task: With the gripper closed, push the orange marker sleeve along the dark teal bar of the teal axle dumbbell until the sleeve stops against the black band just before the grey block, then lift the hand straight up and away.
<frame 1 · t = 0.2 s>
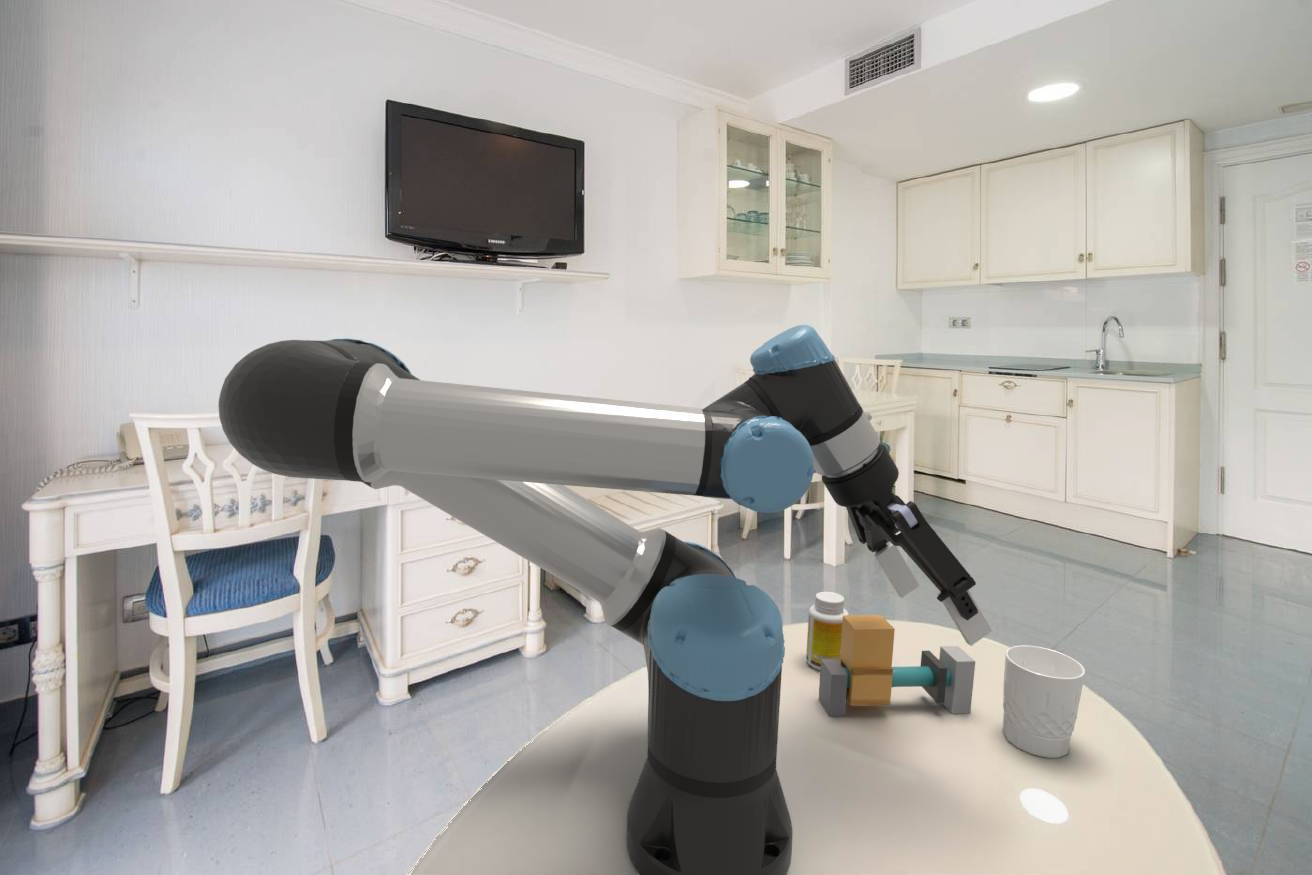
hand: (941, 612, 73), 16 cm above the table, tool tilted 35°, fingers open, 13 cm apart
teal axle dumbbell: (892, 705, 82), on the table
white cup: (1034, 742, 75), on the table
supplement bottle: (825, 665, 92), on the table
marker sleeve: (865, 658, 81), point 6 cm above the table, slide at 0.0 cm
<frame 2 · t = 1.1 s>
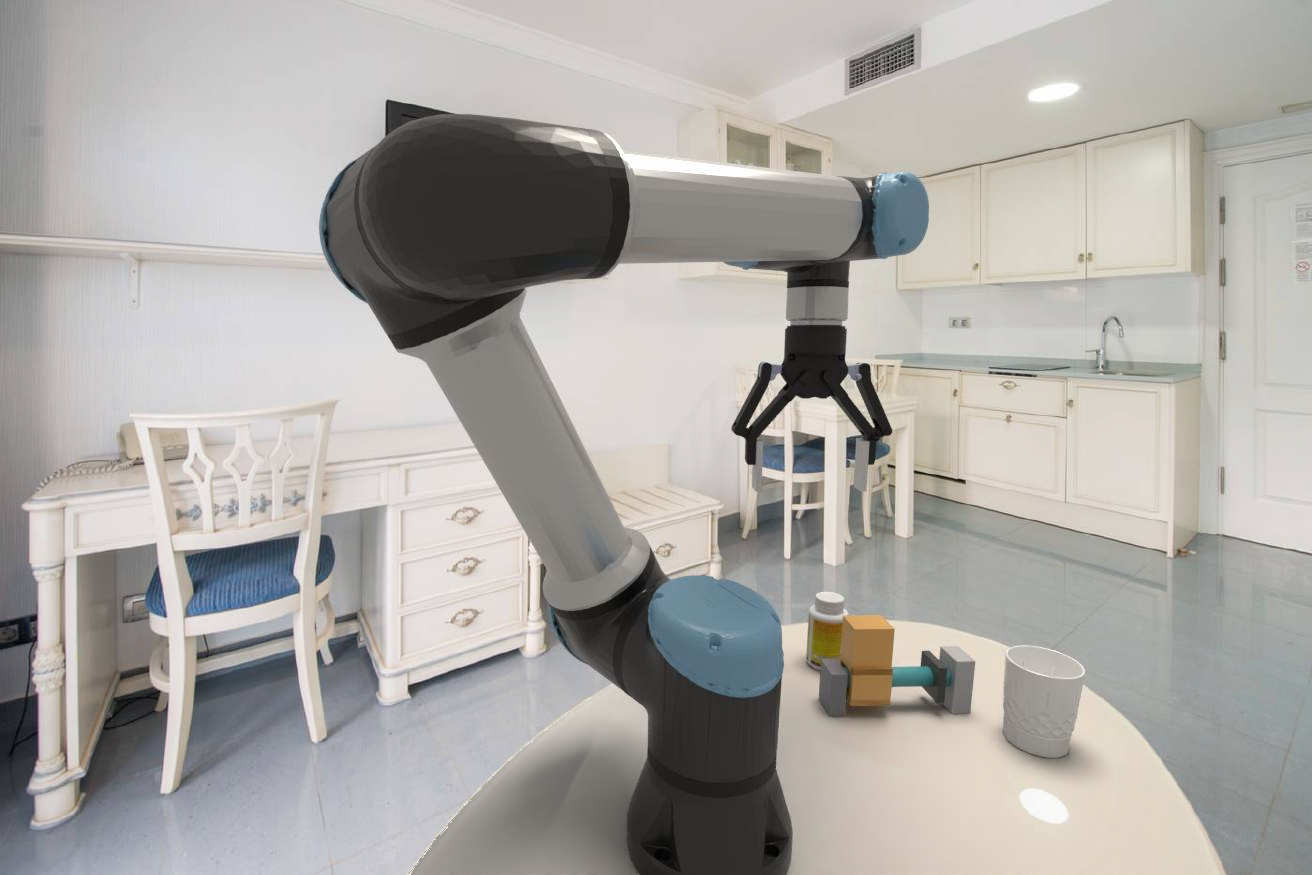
hand: (808, 489, 83), 27 cm above the table, tool pointing down, fingers open, 13 cm apart
nothing on the table moved.
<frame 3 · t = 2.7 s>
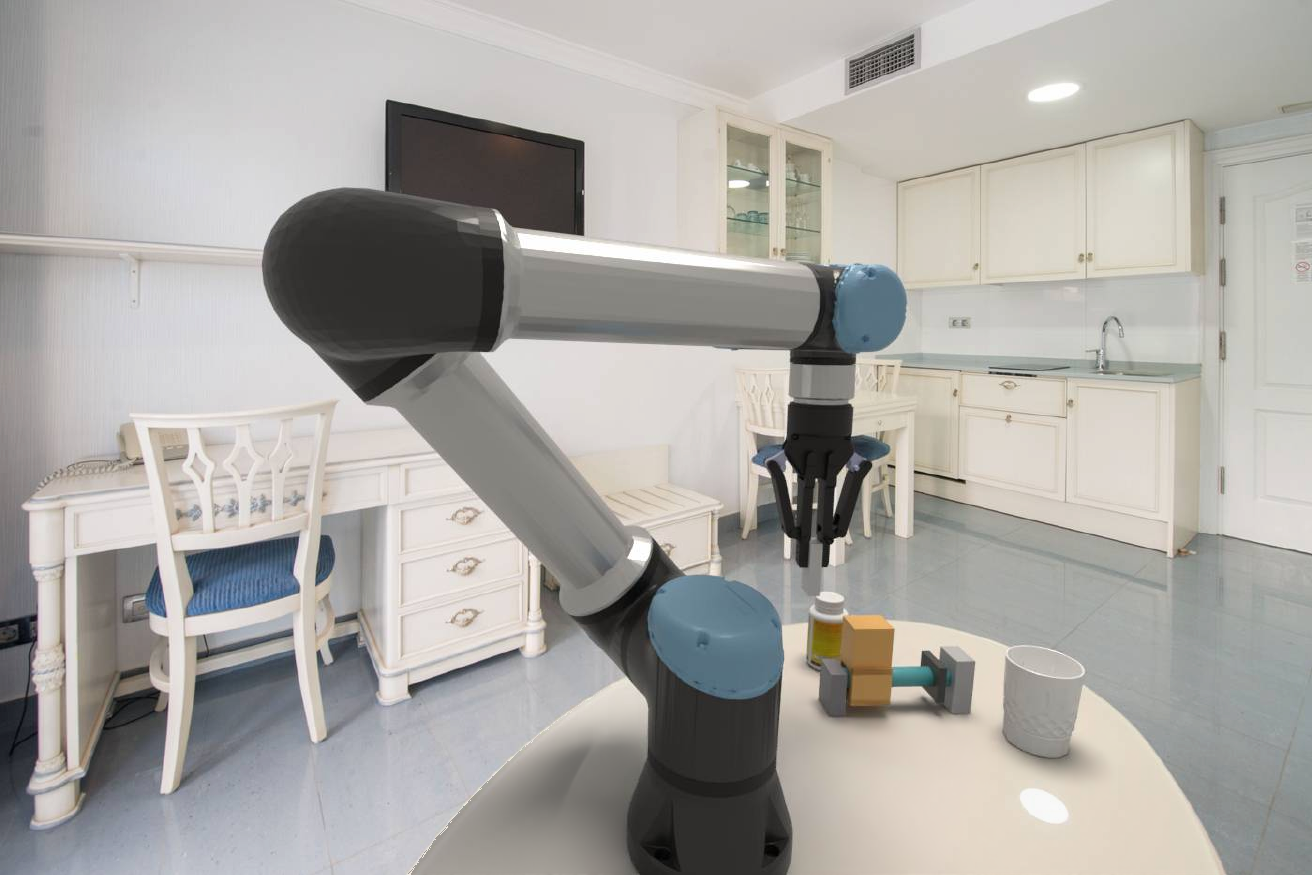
hand: (810, 591, 79), 15 cm above the table, tool pointing down, fingers closed
nothing on the table moved.
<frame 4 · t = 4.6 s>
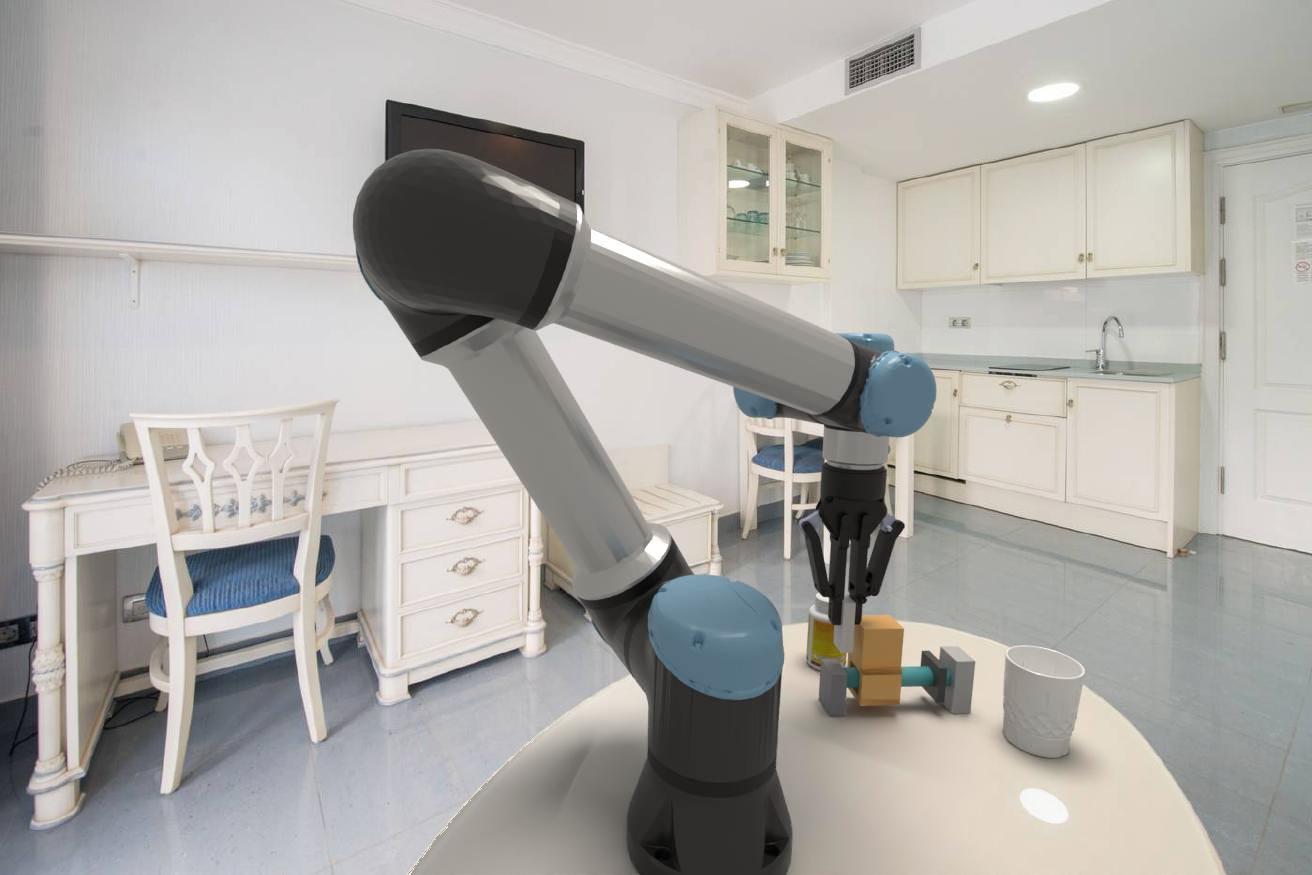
hand: (842, 647, 80), 8 cm above the table, tool pointing down, fingers closed
marker sleeve: (874, 658, 81), point 7 cm above the table, slide at 1.2 cm, touching gripper
everything else where it was.
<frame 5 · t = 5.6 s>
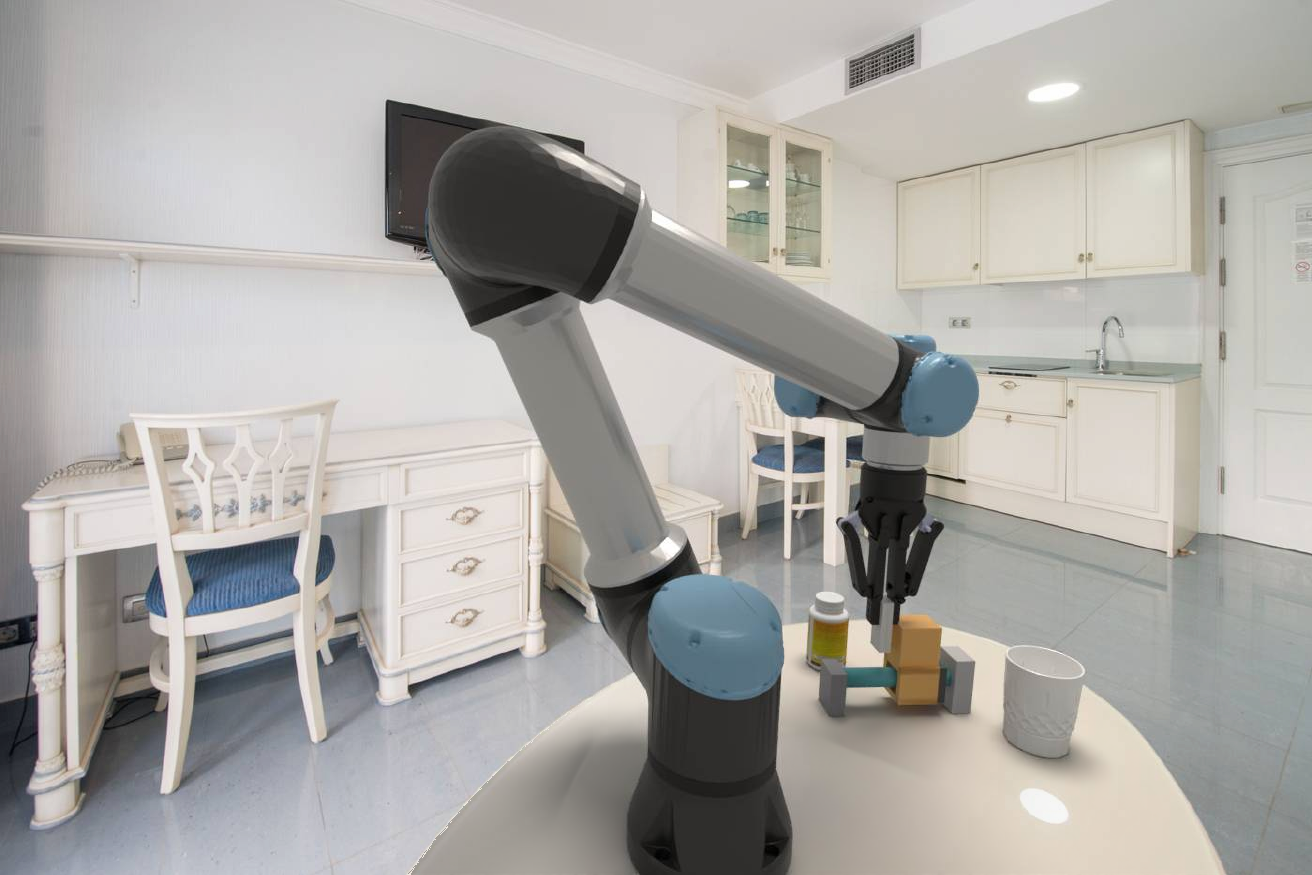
hand: (880, 647, 81), 8 cm above the table, tool pointing down, fingers closed
marker sleeve: (911, 658, 81), point 6 cm above the table, slide at 6.0 cm, touching gripper
everything else where it was.
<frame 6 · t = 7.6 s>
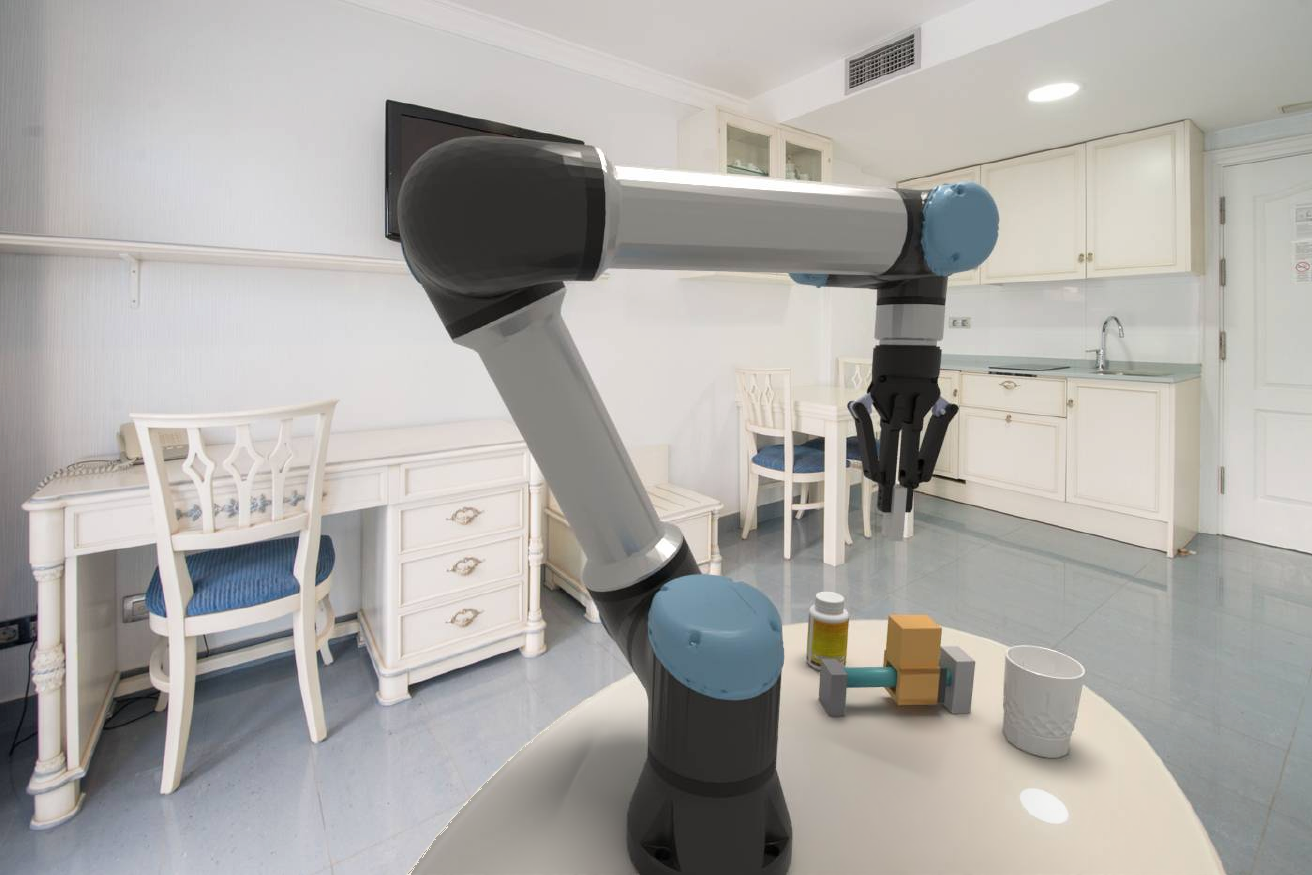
hand: (892, 537, 79), 22 cm above the table, tool pointing down, fingers closed
marker sleeve: (911, 658, 81), point 7 cm above the table, slide at 6.0 cm, touching teal axle dumbbell
everything else where it was.
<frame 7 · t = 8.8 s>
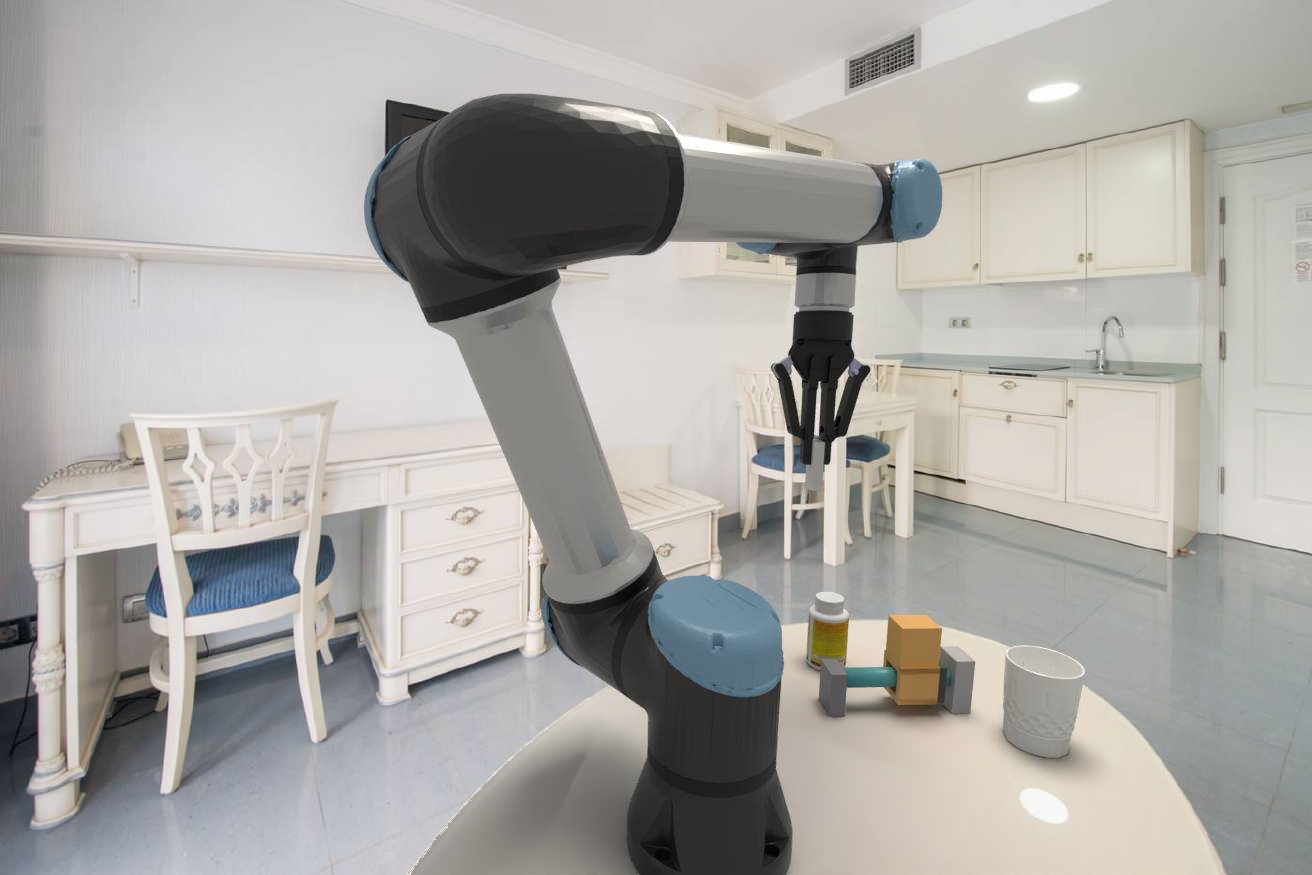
hand: (813, 488, 86), 26 cm above the table, tool pointing down, fingers closed
nothing on the table moved.
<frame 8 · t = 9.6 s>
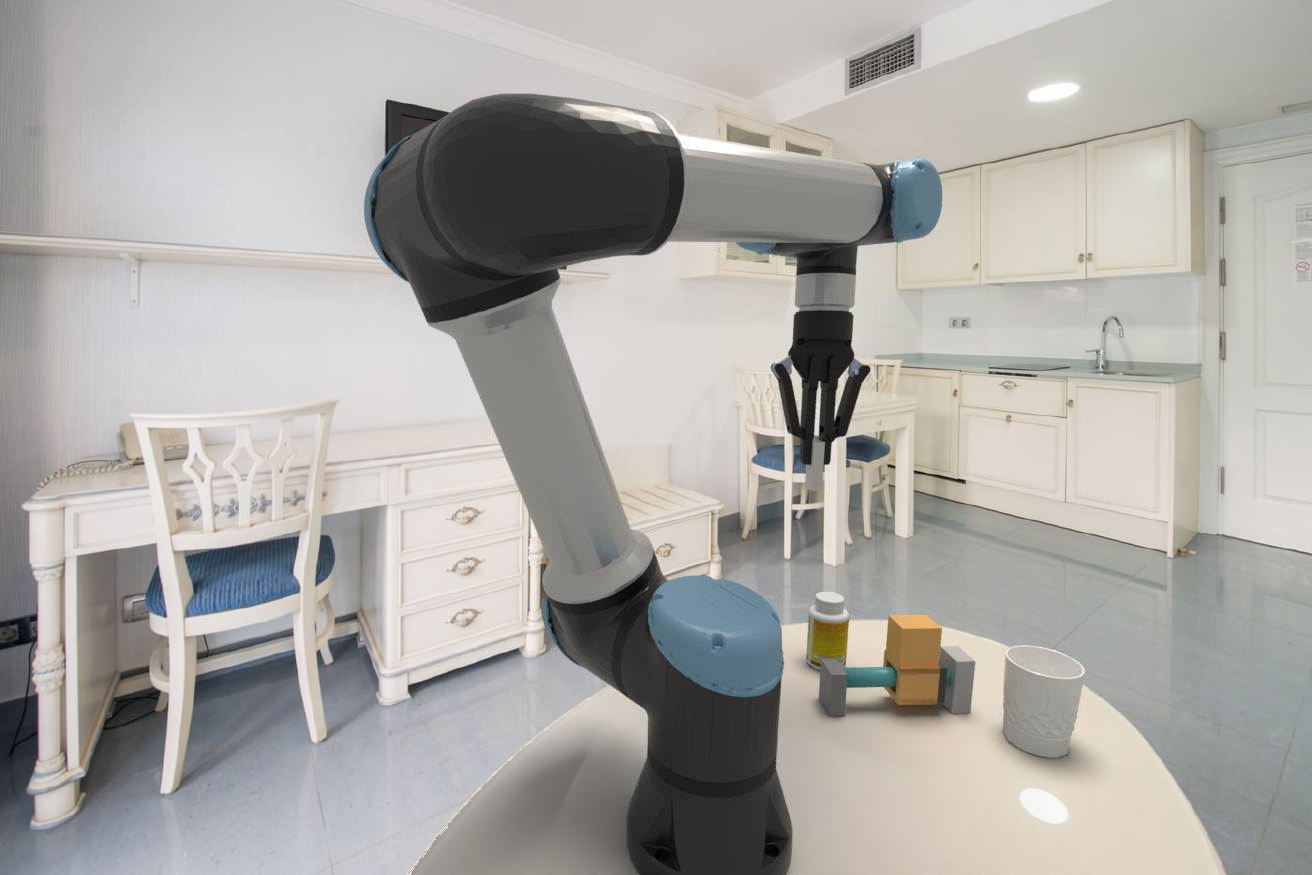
hand: (813, 488, 86), 26 cm above the table, tool pointing down, fingers closed
nothing on the table moved.
at the end: marker sleeve slide at 6.0 cm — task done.
